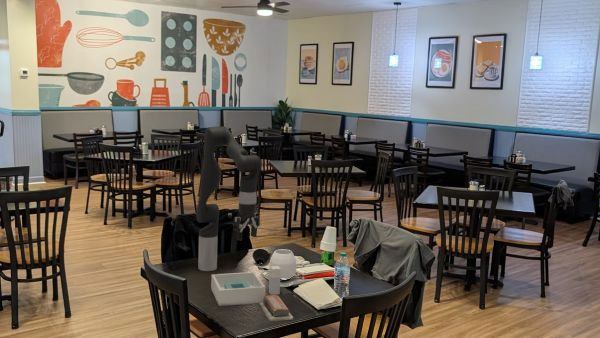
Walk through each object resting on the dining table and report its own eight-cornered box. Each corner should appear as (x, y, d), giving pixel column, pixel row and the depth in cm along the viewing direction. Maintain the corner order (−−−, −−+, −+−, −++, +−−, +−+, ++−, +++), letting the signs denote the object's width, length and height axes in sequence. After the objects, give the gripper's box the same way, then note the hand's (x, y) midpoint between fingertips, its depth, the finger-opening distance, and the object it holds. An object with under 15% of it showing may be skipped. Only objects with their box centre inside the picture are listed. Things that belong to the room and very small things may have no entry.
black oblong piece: (248, 257, 284) (252, 238, 300) (256, 274, 289) (259, 253, 305) (265, 252, 282) (267, 233, 299) (273, 269, 287) (275, 249, 303)
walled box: (211, 289, 250) (211, 274, 249) (253, 286, 257) (254, 271, 256) (219, 306, 232) (219, 290, 231) (264, 302, 238) (265, 287, 237)
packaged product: (259, 294, 235) (281, 293, 238) (258, 305, 236) (280, 303, 239) (270, 311, 218) (294, 309, 221) (269, 322, 219) (293, 320, 222)
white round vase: (264, 279, 266) (265, 253, 264) (275, 272, 278) (276, 246, 276) (289, 284, 261) (290, 257, 259) (299, 276, 273) (301, 250, 272)
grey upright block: (268, 291, 251) (269, 266, 249) (277, 291, 252) (278, 265, 251) (271, 294, 247) (272, 269, 246) (279, 294, 249) (280, 268, 247)
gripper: (252, 198, 243) (251, 233, 246) (229, 202, 232) (228, 239, 234) (265, 200, 239) (263, 237, 241) (242, 205, 227) (241, 243, 230)
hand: (246, 238), depth 238 cm, fingers open, 8 cm apart
